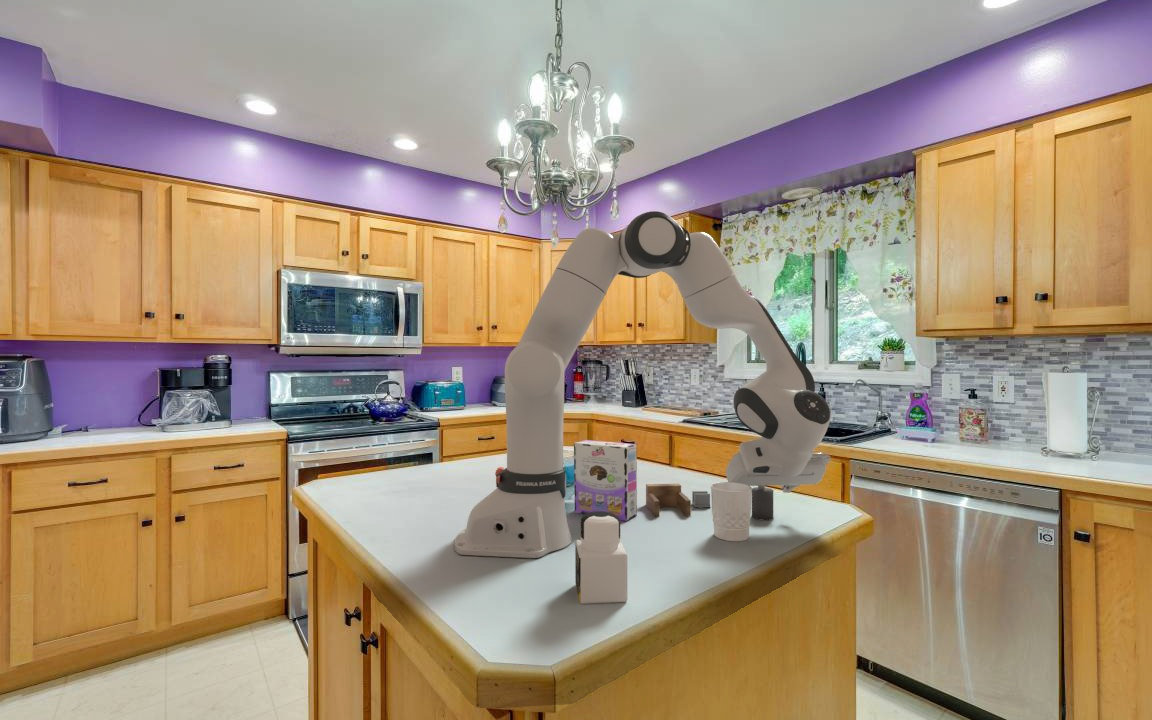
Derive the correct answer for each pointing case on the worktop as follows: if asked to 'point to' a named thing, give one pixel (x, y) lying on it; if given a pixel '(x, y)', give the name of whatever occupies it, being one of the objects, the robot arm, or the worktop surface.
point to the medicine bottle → (600, 560)
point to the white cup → (731, 510)
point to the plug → (762, 503)
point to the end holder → (666, 498)
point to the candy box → (605, 478)
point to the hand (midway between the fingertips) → (764, 490)
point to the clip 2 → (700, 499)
